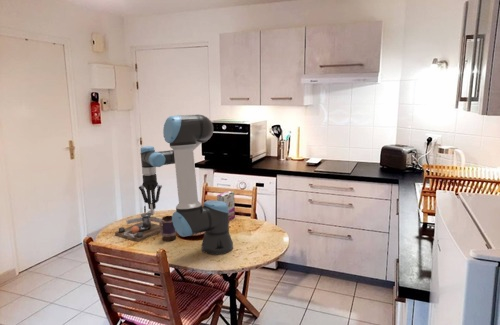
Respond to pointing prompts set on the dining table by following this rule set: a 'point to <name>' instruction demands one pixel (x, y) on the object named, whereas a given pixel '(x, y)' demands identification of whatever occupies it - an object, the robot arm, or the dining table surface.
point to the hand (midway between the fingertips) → (152, 214)
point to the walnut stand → (138, 233)
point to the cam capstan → (144, 221)
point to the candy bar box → (228, 202)
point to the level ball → (135, 229)
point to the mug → (167, 229)
